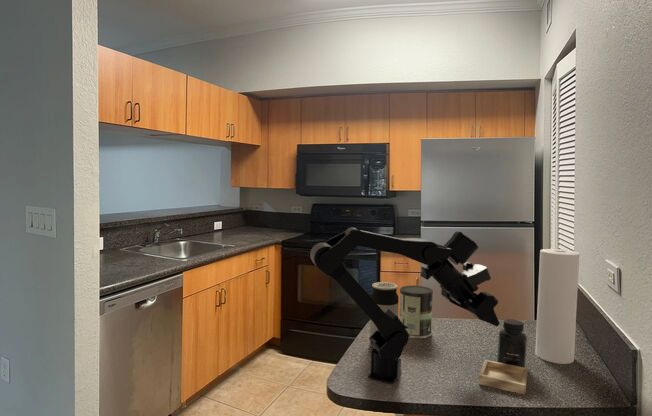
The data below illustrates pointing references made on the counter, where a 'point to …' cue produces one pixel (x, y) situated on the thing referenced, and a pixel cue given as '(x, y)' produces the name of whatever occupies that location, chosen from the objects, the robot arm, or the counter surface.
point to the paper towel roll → (557, 305)
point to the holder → (503, 376)
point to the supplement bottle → (512, 343)
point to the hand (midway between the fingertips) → (487, 318)
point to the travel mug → (384, 299)
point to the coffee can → (416, 310)
